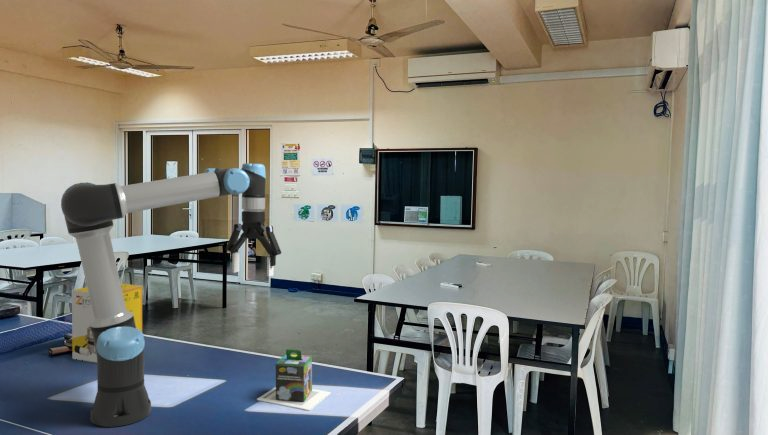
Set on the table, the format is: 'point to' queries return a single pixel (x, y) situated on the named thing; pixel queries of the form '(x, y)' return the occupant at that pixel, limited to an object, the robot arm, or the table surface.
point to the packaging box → (84, 317)
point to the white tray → (308, 404)
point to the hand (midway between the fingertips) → (252, 274)
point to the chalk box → (293, 376)
